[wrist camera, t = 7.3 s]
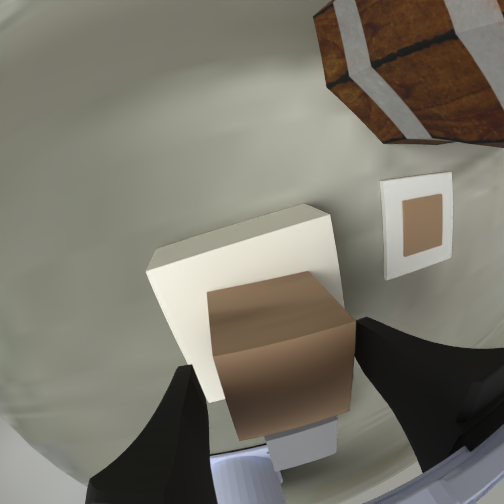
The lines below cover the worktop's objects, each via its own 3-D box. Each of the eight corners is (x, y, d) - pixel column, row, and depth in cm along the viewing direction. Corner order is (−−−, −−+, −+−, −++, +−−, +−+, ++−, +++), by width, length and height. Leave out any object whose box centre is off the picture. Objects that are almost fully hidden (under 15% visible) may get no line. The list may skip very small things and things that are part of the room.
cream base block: (325, 324, 20) (349, 356, 17) (206, 363, 20) (209, 403, 16) (302, 202, 17) (329, 214, 14) (157, 247, 17) (145, 271, 13)
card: (447, 256, 20) (452, 258, 20) (383, 278, 20) (388, 281, 19) (448, 171, 18) (453, 172, 18) (379, 180, 17) (384, 181, 17)
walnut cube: (312, 350, 16) (349, 410, 11) (226, 371, 15) (239, 440, 11) (308, 270, 14) (356, 320, 10) (206, 292, 14) (212, 356, 9)
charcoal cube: (316, 412, 23) (336, 453, 18) (262, 427, 22) (274, 471, 18) (314, 375, 21) (338, 419, 17) (252, 392, 21) (265, 441, 16)
